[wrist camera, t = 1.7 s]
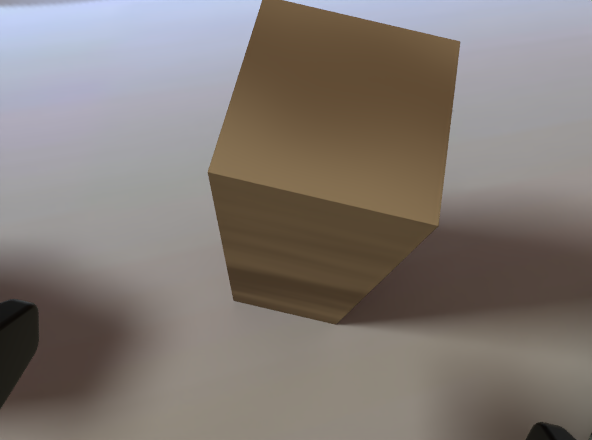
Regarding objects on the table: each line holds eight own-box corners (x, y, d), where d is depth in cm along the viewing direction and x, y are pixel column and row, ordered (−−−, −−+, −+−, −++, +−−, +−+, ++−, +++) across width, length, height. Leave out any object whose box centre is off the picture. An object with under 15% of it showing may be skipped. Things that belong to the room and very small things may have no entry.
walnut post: (335, 324, 21) (438, 225, 9) (233, 300, 21) (207, 172, 9) (353, 228, 23) (460, 41, 11) (258, 206, 23) (263, -5, 11)
